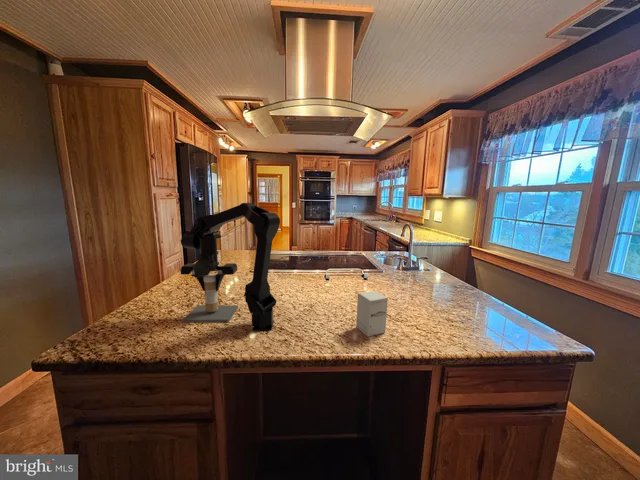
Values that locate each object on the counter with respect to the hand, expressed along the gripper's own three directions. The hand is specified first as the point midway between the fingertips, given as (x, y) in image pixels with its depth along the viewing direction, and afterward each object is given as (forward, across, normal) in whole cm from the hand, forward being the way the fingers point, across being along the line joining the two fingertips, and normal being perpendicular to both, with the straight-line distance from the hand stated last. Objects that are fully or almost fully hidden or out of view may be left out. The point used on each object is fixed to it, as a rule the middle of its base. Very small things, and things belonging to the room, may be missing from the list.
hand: (211, 291), depth 93 cm
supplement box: (+10, +58, -12) cm, 60 cm away
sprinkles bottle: (+8, 0, 0) cm, 8 cm away
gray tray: (+9, 0, 0) cm, 9 cm away
